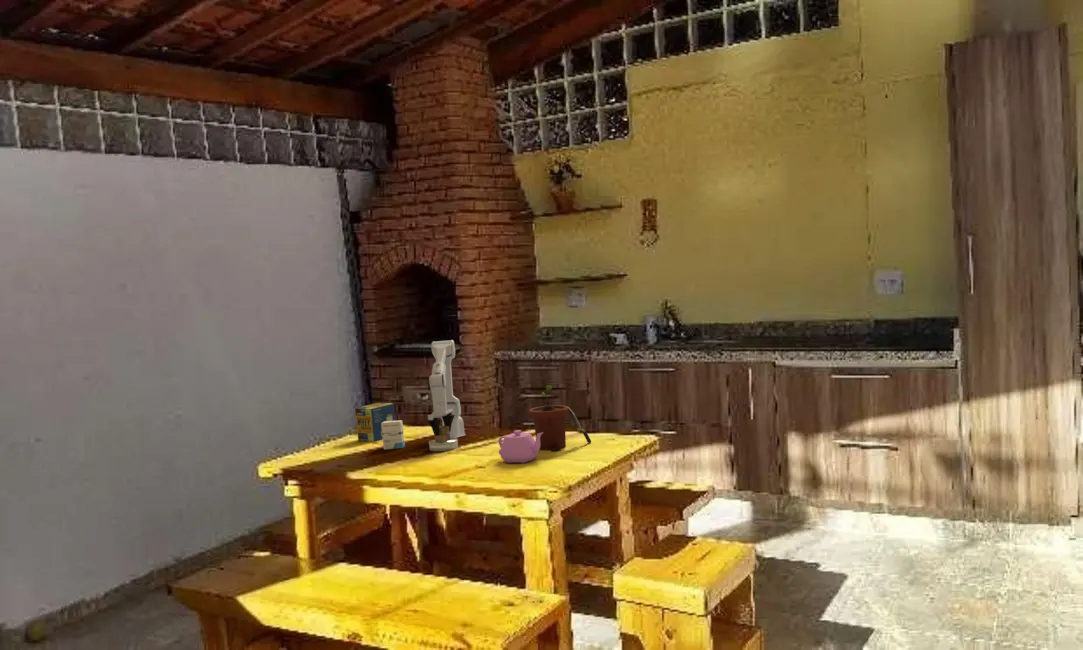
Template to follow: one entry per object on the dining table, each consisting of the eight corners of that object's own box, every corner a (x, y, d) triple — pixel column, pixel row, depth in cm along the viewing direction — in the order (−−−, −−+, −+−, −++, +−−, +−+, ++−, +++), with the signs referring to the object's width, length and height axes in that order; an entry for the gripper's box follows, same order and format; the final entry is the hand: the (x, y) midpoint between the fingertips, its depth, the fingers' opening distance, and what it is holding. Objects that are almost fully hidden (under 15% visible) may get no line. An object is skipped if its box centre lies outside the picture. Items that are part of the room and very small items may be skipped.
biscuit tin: (443, 444, 386) (442, 437, 386) (464, 446, 378) (463, 438, 378) (423, 451, 376) (422, 443, 376) (444, 452, 368) (443, 444, 368)
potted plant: (545, 441, 373) (540, 383, 371) (592, 442, 362) (587, 382, 361) (525, 451, 357) (519, 389, 355) (573, 452, 347) (568, 389, 345)
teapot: (491, 464, 338) (488, 434, 337) (507, 456, 350) (505, 427, 349) (538, 465, 329) (536, 434, 329) (553, 457, 341) (550, 427, 341)
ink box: (405, 446, 389) (402, 419, 388) (402, 448, 384) (399, 421, 383) (386, 447, 390) (383, 420, 389) (383, 449, 385) (380, 422, 384)
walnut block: (441, 439, 380) (440, 425, 380) (450, 439, 378) (448, 426, 377) (435, 441, 376) (434, 427, 376) (443, 442, 374) (442, 428, 373)
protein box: (357, 441, 410) (354, 408, 409) (381, 434, 423) (378, 402, 422) (373, 442, 404) (370, 408, 403) (397, 435, 417) (394, 402, 416)
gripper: (443, 399, 384) (445, 429, 385) (421, 405, 372) (424, 436, 373) (455, 399, 380) (458, 430, 381) (434, 405, 368) (437, 437, 369)
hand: (442, 433), depth 377 cm, fingers open, 7 cm apart
